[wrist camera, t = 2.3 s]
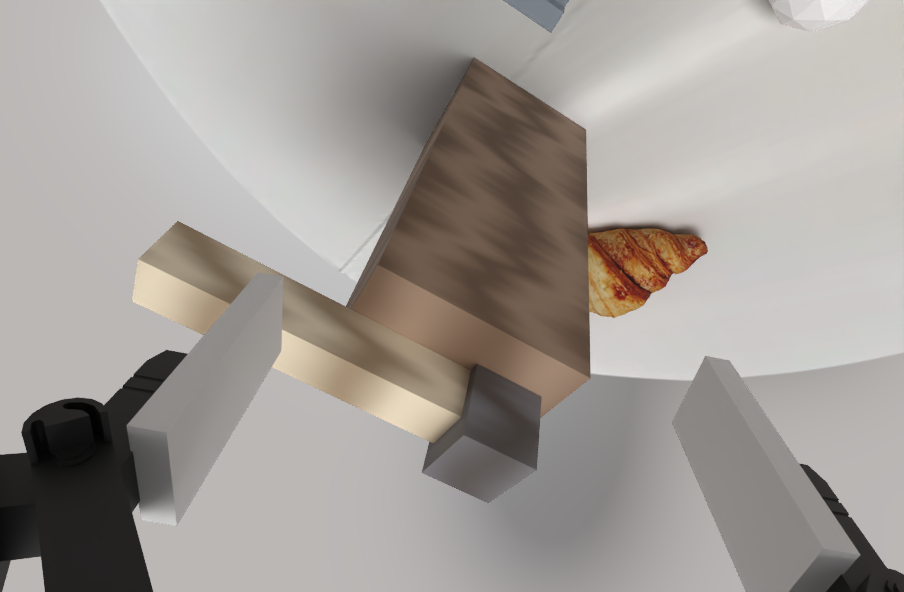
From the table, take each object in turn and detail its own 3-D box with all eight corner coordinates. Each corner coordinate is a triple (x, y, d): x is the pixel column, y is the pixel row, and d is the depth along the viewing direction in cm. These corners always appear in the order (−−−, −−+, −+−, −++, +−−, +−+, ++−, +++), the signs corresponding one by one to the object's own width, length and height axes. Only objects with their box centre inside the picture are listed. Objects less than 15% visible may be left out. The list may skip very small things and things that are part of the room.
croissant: (525, 287, 67) (533, 347, 64) (486, 257, 59) (493, 324, 56) (704, 232, 57) (725, 300, 54) (686, 187, 49) (709, 264, 46)
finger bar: (167, 271, 27) (111, 331, 24) (179, 210, 24) (118, 268, 21) (498, 432, 31) (488, 502, 28) (541, 396, 28) (536, 470, 25)
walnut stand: (424, 147, 53) (311, 375, 31) (474, 57, 47) (377, 264, 24) (525, 207, 55) (487, 459, 33) (586, 129, 49) (590, 378, 27)
